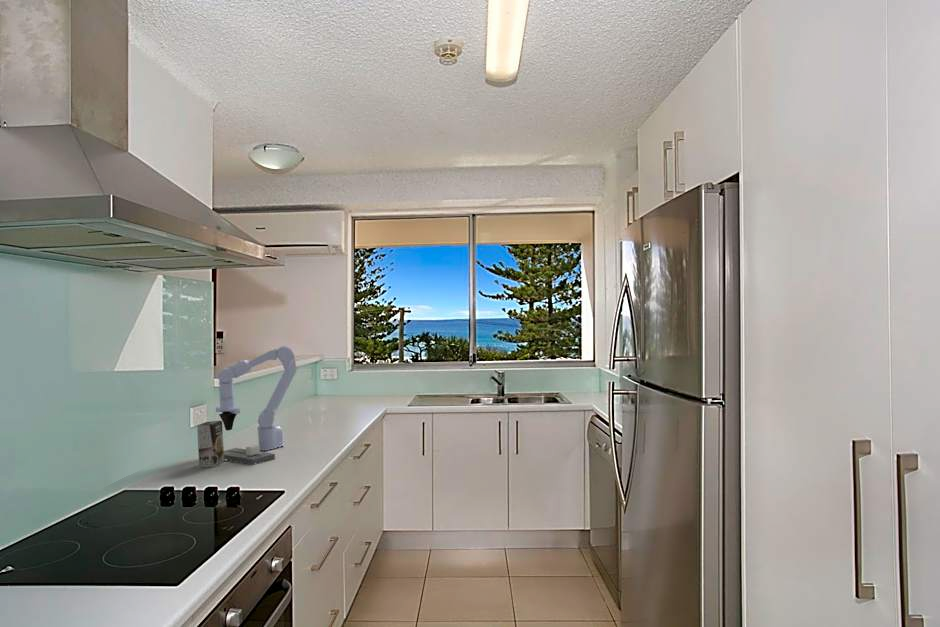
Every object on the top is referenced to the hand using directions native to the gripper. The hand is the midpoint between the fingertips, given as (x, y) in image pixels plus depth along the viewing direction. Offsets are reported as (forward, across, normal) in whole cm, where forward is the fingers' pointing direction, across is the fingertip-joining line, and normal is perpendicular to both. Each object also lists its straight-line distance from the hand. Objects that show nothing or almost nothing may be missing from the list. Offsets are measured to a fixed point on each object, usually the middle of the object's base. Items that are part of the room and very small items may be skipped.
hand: (228, 430), depth 270 cm
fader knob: (+7, +22, -4) cm, 24 cm away
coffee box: (+10, +13, -16) cm, 23 cm away
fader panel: (+9, +16, -4) cm, 19 cm away
